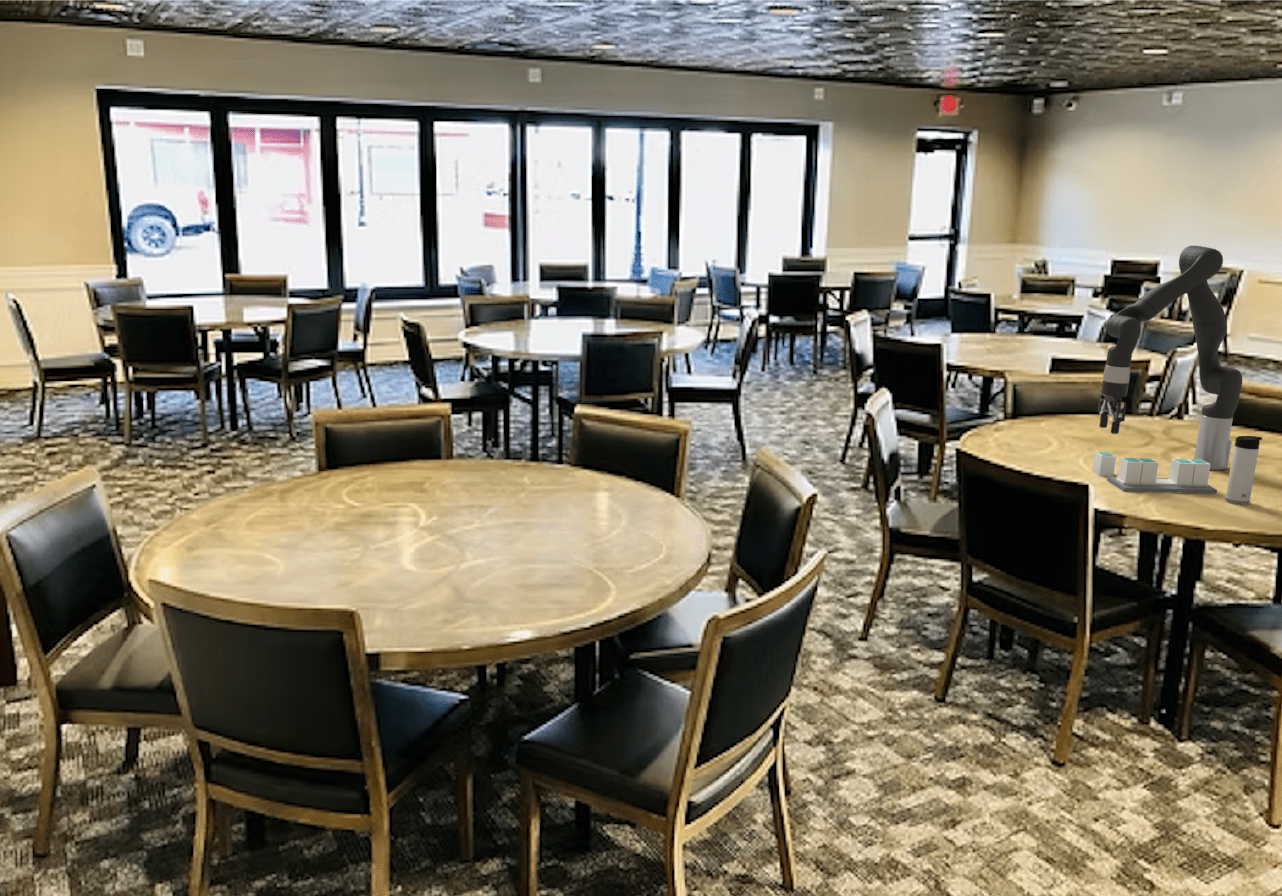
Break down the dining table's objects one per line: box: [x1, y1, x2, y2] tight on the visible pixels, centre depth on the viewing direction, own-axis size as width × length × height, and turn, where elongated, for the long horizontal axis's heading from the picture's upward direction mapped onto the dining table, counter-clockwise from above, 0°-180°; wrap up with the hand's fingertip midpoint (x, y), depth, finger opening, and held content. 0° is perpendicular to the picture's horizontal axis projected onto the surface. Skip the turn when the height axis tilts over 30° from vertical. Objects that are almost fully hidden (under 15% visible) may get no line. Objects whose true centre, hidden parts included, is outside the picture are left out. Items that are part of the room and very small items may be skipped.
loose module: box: [1092, 451, 1117, 477], centre depth 336 cm, size 4×6×7 cm
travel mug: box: [1224, 435, 1263, 506], centre depth 307 cm, size 6×7×20 cm
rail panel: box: [1106, 457, 1218, 495], centre depth 322 cm, size 28×12×8 cm, turn 90°
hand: (1108, 430), depth 333 cm, fingers open, 8 cm apart
